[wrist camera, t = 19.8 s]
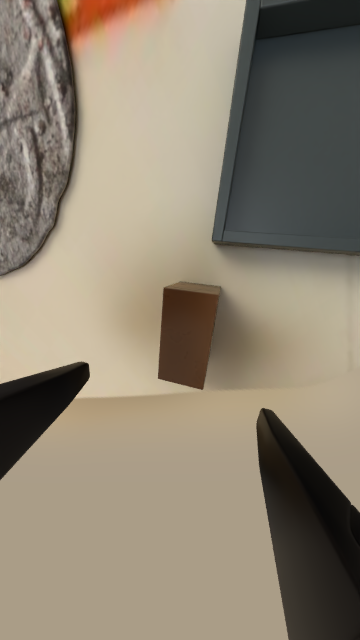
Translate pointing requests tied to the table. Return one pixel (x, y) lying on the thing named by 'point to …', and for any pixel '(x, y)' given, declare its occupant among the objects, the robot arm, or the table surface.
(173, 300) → the brown rectangular block
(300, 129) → the tray
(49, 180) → the ancient coin
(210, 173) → the table surface
